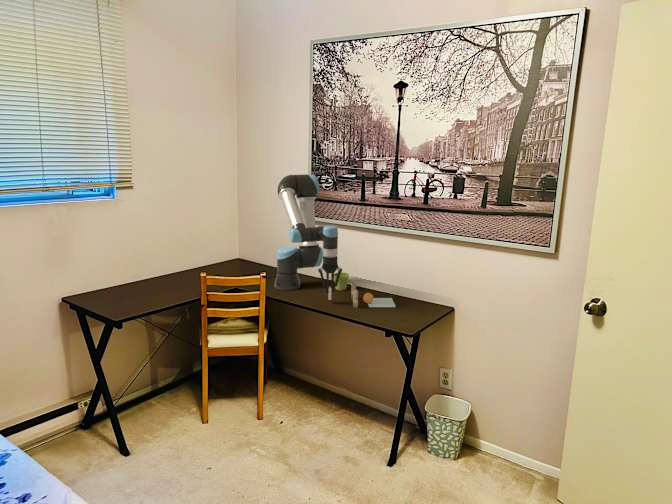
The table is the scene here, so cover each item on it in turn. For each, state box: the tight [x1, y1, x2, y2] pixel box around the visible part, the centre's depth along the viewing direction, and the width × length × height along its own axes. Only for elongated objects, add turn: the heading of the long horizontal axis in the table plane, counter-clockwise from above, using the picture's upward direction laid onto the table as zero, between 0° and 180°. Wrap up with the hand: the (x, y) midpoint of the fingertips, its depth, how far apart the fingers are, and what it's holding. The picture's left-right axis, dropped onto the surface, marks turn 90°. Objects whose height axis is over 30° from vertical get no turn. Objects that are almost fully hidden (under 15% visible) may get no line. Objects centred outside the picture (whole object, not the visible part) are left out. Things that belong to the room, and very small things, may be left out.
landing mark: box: [367, 297, 396, 308], centre depth 264 cm, size 14×14×1 cm
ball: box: [362, 292, 374, 304], centre depth 263 cm, size 6×6×6 cm
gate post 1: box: [350, 282, 357, 301], centre depth 269 cm, size 3×3×9 cm
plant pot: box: [334, 271, 350, 291], centre depth 286 cm, size 9×9×9 cm
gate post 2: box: [352, 289, 359, 309], centre depth 256 cm, size 3×3×9 cm
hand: (329, 298), depth 263 cm, fingers closed
